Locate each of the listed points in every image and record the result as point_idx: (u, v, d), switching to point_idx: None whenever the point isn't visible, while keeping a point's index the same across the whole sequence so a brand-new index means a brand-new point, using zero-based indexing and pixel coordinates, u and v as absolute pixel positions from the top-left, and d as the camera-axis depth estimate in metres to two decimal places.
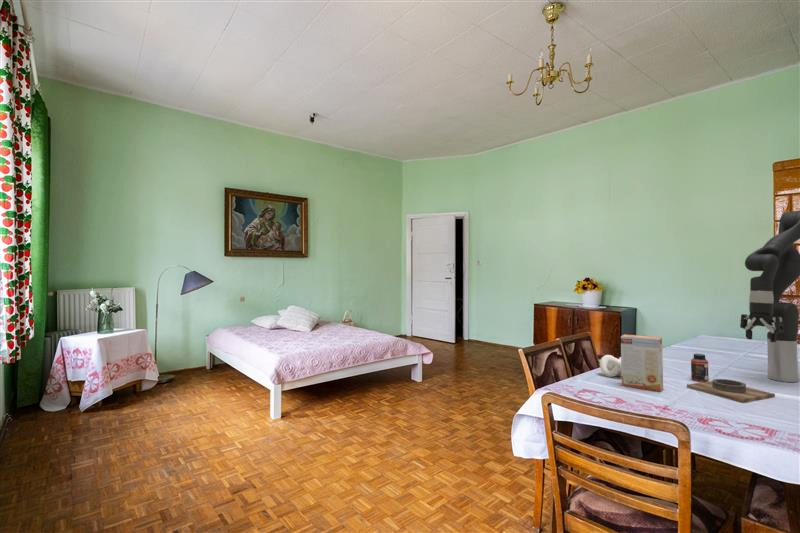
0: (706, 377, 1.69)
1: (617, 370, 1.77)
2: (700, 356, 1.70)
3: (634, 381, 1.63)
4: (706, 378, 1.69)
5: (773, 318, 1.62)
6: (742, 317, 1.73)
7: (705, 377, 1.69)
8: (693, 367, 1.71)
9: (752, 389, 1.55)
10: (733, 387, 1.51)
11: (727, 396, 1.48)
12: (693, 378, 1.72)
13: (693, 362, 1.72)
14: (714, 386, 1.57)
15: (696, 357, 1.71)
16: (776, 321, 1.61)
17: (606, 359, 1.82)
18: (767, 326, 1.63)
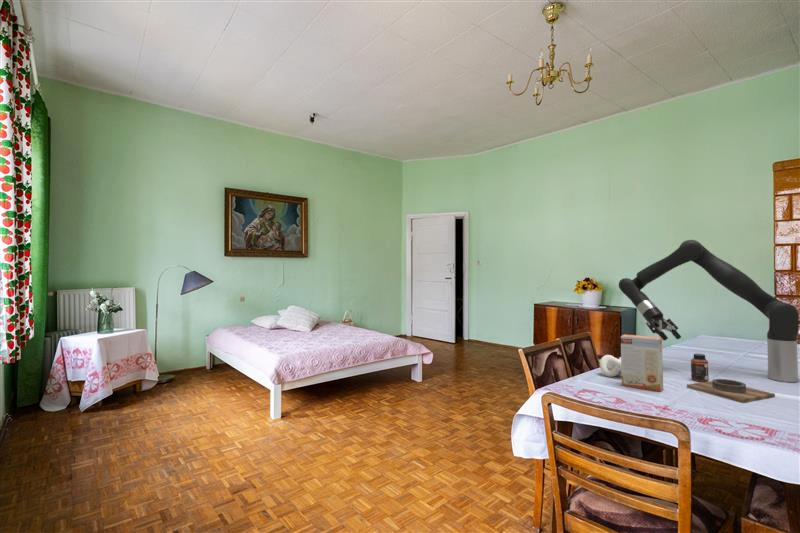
0: (706, 377, 1.69)
1: (617, 370, 1.77)
2: (700, 356, 1.70)
3: (634, 381, 1.63)
4: (706, 378, 1.69)
5: None
6: None
7: (705, 377, 1.69)
8: (693, 367, 1.71)
9: (752, 389, 1.55)
10: (733, 387, 1.51)
11: (727, 396, 1.48)
12: (693, 378, 1.72)
13: (693, 362, 1.72)
14: (714, 386, 1.57)
15: (696, 357, 1.71)
16: None
17: (606, 359, 1.82)
18: None
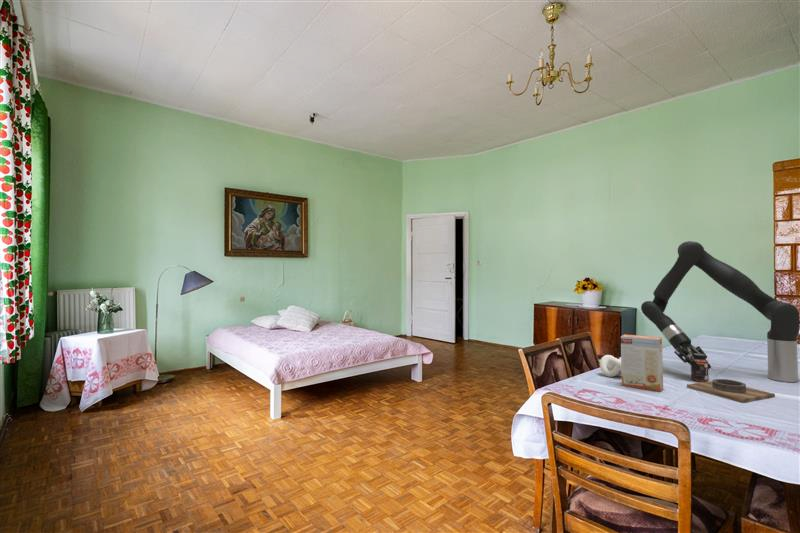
0: (706, 377, 1.69)
1: (617, 370, 1.77)
2: (700, 356, 1.70)
3: (634, 381, 1.63)
4: (706, 378, 1.69)
5: None
6: None
7: (705, 377, 1.69)
8: None
9: (752, 389, 1.55)
10: (733, 387, 1.51)
11: (727, 396, 1.48)
12: (693, 378, 1.72)
13: None
14: (714, 386, 1.57)
15: (696, 357, 1.71)
16: None
17: (606, 359, 1.82)
18: None
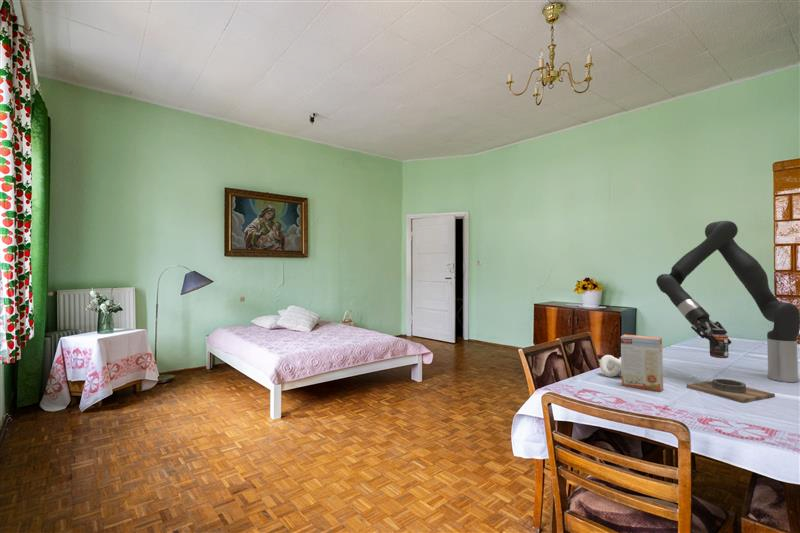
0: (726, 353, 1.57)
1: (617, 370, 1.77)
2: (719, 331, 1.59)
3: (634, 381, 1.63)
4: (726, 354, 1.57)
5: None
6: None
7: (725, 353, 1.57)
8: None
9: (752, 389, 1.55)
10: (733, 387, 1.51)
11: (727, 396, 1.48)
12: (712, 354, 1.60)
13: None
14: (714, 386, 1.57)
15: (715, 332, 1.60)
16: None
17: (606, 359, 1.82)
18: None
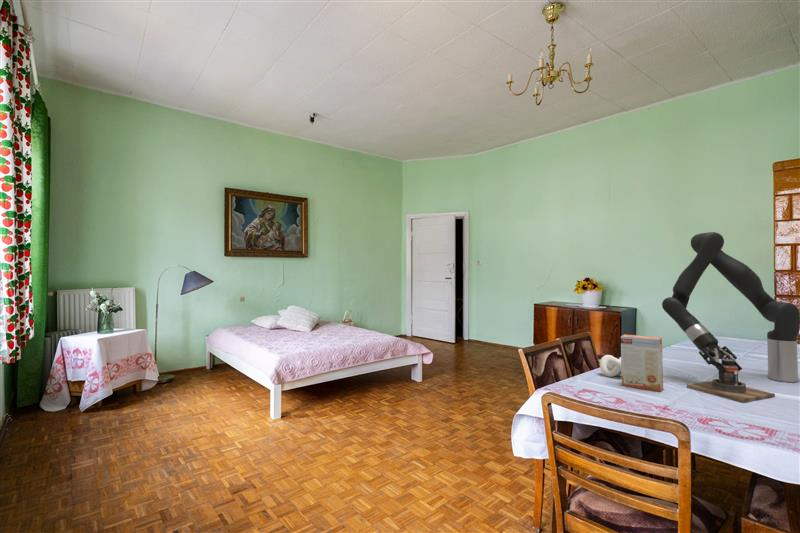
0: (736, 385, 1.53)
1: (617, 370, 1.77)
2: (729, 362, 1.54)
3: (634, 381, 1.63)
4: None
5: None
6: None
7: (735, 385, 1.53)
8: (722, 374, 1.55)
9: (752, 389, 1.55)
10: (733, 387, 1.51)
11: (727, 396, 1.48)
12: None
13: None
14: (714, 386, 1.57)
15: (724, 363, 1.55)
16: None
17: (606, 359, 1.82)
18: None
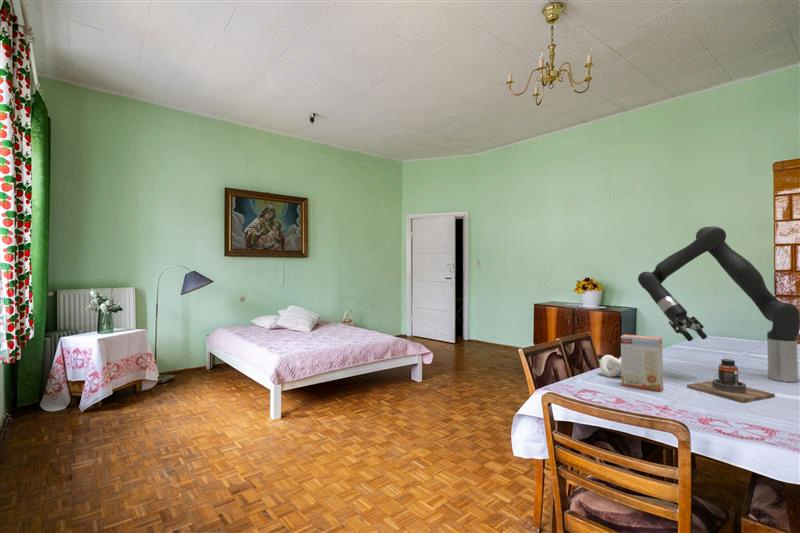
0: (736, 385, 1.53)
1: (617, 370, 1.77)
2: (729, 362, 1.54)
3: (634, 381, 1.63)
4: None
5: None
6: None
7: (735, 385, 1.53)
8: (721, 374, 1.55)
9: (752, 389, 1.55)
10: (733, 387, 1.51)
11: (727, 396, 1.48)
12: None
13: (721, 368, 1.56)
14: (714, 386, 1.57)
15: (724, 363, 1.55)
16: None
17: (606, 359, 1.82)
18: None
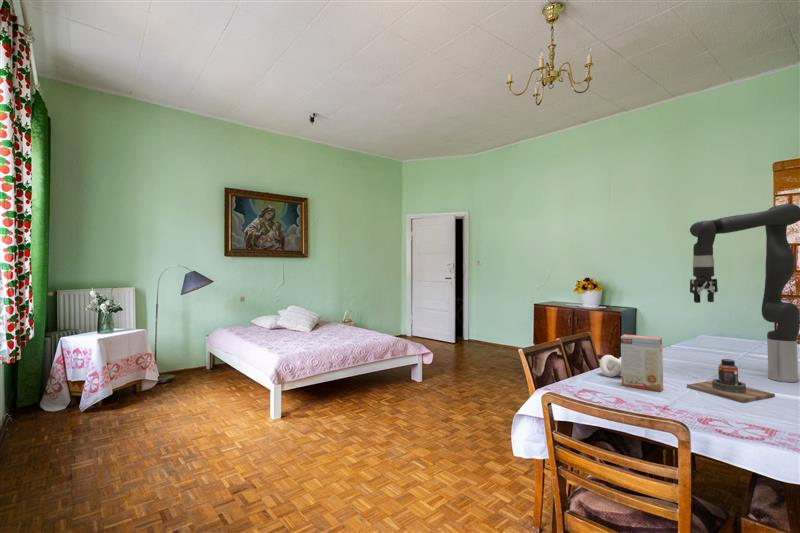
0: (736, 385, 1.53)
1: (617, 370, 1.77)
2: (729, 362, 1.54)
3: (634, 381, 1.63)
4: None
5: None
6: None
7: (735, 385, 1.53)
8: (721, 374, 1.55)
9: (752, 389, 1.55)
10: (733, 387, 1.51)
11: (727, 396, 1.48)
12: None
13: (721, 368, 1.56)
14: (714, 386, 1.57)
15: (724, 363, 1.55)
16: None
17: (606, 359, 1.82)
18: None
